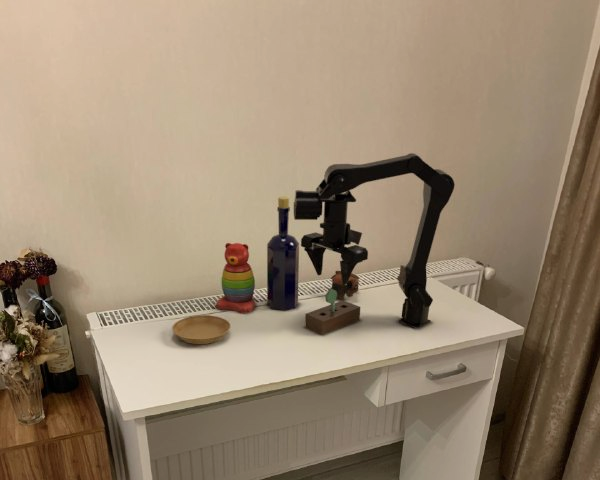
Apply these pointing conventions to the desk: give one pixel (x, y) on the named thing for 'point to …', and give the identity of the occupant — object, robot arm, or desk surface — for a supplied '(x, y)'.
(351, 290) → the pottery mug
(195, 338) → the plant saucer
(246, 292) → the stacking bear
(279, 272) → the bottle
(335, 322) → the holder
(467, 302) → the desk surface
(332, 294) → the spoon
